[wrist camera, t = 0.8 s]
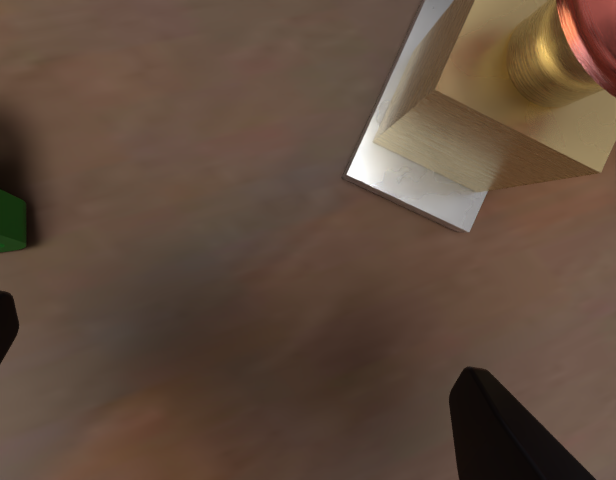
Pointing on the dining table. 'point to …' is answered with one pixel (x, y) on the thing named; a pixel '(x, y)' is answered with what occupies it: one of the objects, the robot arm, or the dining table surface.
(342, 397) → the dining table surface
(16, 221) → the clamp
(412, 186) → the grey ball socket brick
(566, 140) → the valve
